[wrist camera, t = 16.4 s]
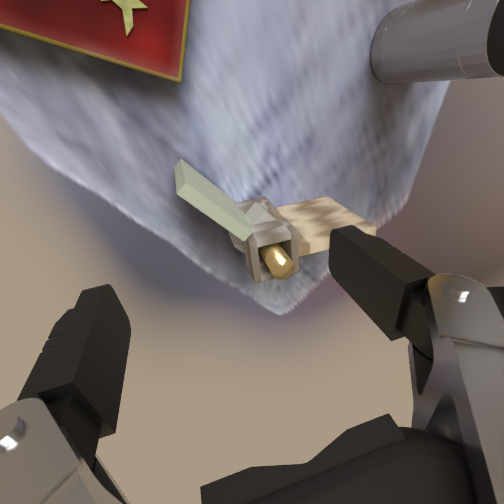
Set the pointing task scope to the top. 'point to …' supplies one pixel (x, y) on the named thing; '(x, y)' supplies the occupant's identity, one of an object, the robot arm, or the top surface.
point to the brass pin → (277, 261)
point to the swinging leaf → (218, 204)
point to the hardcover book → (108, 30)
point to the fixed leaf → (296, 230)
